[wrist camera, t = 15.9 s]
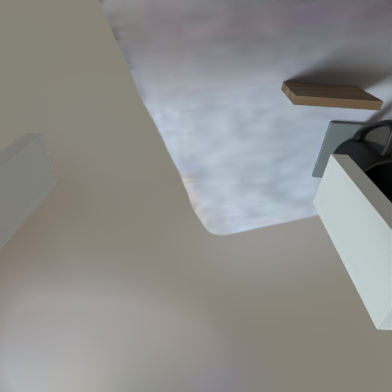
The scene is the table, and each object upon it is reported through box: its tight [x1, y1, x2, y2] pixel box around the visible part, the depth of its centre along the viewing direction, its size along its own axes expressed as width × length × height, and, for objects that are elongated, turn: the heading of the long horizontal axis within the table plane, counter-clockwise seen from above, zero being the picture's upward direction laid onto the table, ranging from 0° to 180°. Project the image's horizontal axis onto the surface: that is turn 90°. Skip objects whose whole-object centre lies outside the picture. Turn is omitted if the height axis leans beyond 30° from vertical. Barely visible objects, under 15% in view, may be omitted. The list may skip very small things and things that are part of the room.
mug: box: [333, 120, 392, 203], centre depth 37 cm, size 8×12×10 cm
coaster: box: [312, 122, 390, 178], centre depth 42 cm, size 9×9×1 cm
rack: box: [281, 82, 383, 110], centre depth 30 cm, size 19×10×7 cm, turn 177°
